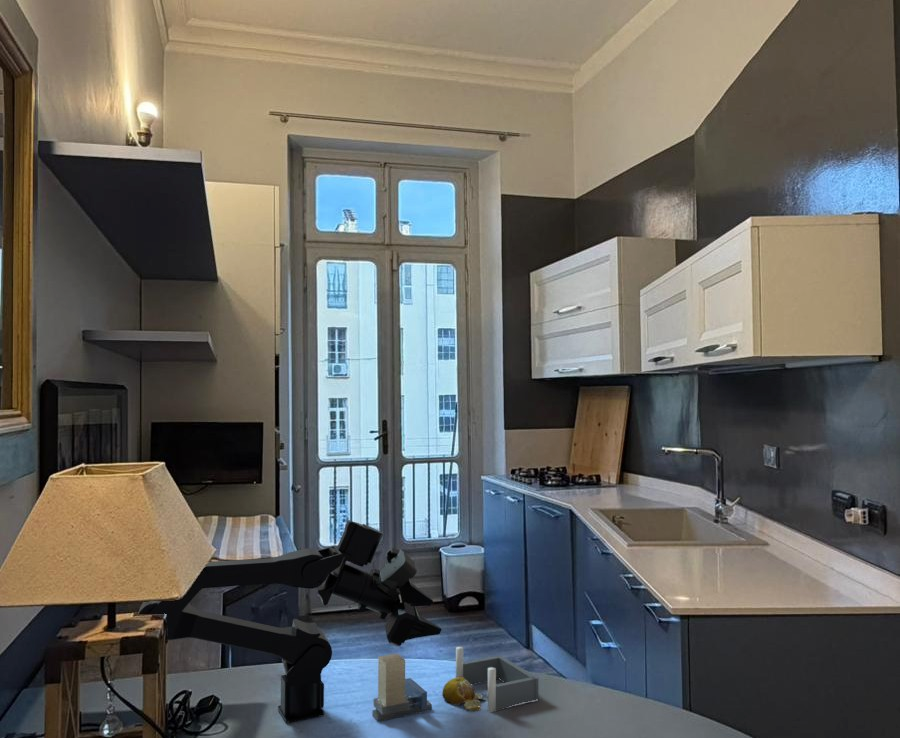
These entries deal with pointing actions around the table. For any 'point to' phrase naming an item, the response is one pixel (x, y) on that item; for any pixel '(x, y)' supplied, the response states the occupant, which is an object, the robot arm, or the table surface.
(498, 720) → the table surface
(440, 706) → the table surface
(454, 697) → the fruit
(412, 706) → the rail
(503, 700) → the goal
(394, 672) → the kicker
